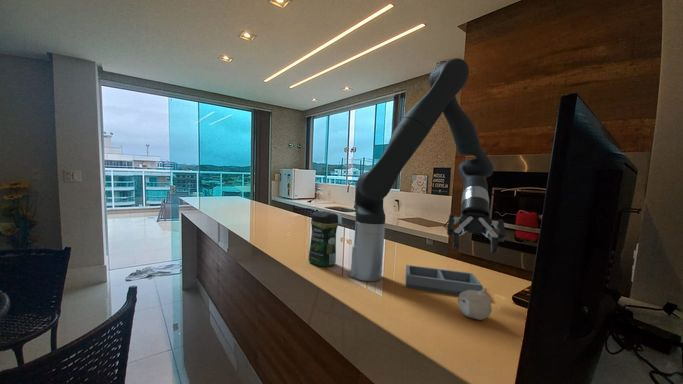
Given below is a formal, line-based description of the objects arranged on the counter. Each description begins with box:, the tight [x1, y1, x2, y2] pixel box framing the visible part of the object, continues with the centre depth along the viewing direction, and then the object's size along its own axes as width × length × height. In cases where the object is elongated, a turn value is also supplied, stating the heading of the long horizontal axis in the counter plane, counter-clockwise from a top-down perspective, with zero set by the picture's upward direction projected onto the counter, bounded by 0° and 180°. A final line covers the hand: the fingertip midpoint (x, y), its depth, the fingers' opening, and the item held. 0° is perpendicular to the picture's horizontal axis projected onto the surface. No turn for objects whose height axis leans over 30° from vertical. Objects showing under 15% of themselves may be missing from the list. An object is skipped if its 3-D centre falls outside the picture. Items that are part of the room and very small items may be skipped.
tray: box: [405, 264, 483, 296], centre depth 79 cm, size 20×11×4 cm, turn 76°
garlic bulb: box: [457, 287, 493, 321], centre depth 60 cm, size 7×6×8 cm
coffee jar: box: [308, 210, 339, 268], centre depth 94 cm, size 10×8×19 cm
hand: (474, 249), depth 70 cm, fingers open, 8 cm apart
